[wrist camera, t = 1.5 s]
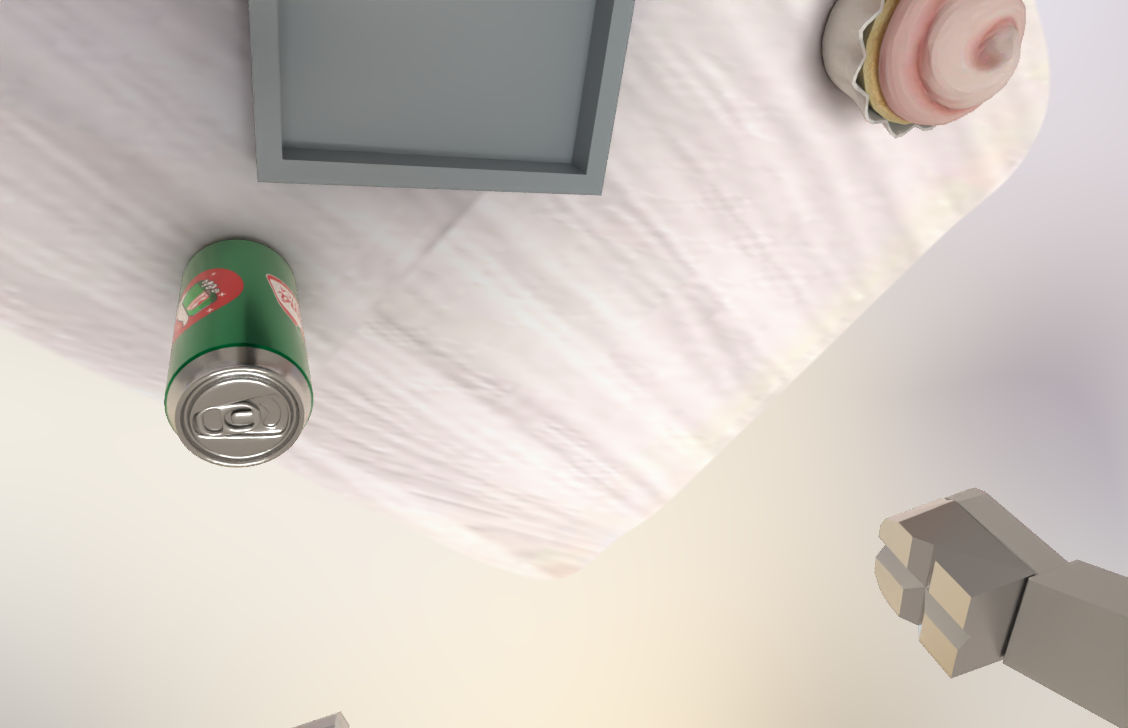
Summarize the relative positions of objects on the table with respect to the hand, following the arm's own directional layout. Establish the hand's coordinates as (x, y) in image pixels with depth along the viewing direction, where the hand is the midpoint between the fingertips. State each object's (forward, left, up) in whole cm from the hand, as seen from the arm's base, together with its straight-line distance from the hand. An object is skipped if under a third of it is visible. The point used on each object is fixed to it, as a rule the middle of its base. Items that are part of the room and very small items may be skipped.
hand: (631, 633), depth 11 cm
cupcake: (+28, +7, -30) cm, 42 cm away
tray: (+4, +5, -30) cm, 31 cm away
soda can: (-5, -8, -30) cm, 32 cm away
